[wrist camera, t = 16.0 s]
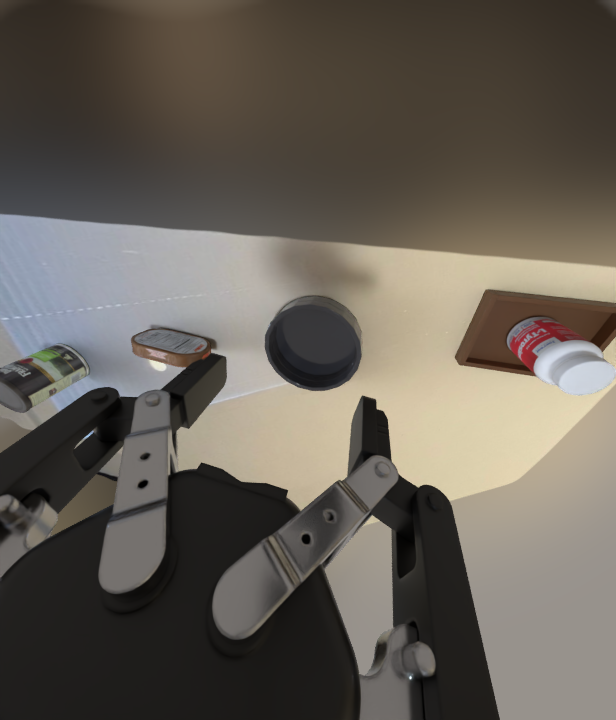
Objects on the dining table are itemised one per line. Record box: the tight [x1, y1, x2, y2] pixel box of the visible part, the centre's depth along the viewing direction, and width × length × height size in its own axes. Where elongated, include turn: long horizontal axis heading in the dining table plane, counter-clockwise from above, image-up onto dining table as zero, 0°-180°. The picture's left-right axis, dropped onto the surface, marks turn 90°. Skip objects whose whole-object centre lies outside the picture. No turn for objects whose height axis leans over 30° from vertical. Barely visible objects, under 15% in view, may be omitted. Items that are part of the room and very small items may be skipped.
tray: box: [455, 290, 616, 377], centre depth 35 cm, size 16×11×2 cm
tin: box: [131, 329, 211, 367], centre depth 46 cm, size 15×3×8 cm, turn 82°
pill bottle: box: [507, 317, 616, 395], centre depth 30 cm, size 6×6×11 cm
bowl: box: [265, 296, 362, 391], centre depth 42 cm, size 16×16×4 cm
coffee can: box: [0, 344, 89, 413], centre depth 57 cm, size 10×10×14 cm
